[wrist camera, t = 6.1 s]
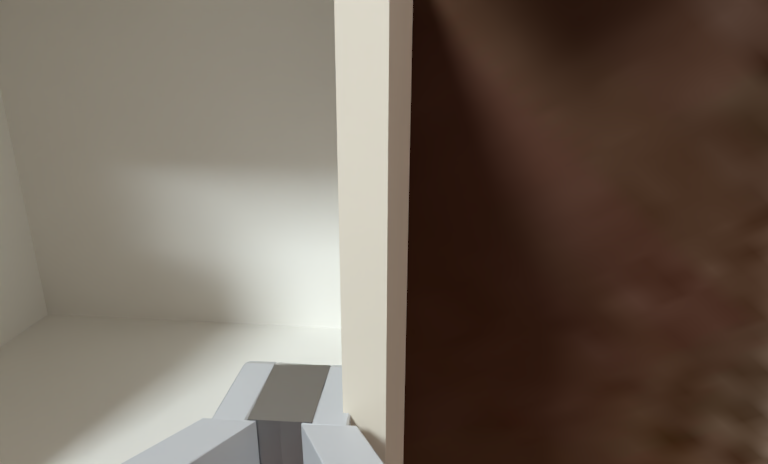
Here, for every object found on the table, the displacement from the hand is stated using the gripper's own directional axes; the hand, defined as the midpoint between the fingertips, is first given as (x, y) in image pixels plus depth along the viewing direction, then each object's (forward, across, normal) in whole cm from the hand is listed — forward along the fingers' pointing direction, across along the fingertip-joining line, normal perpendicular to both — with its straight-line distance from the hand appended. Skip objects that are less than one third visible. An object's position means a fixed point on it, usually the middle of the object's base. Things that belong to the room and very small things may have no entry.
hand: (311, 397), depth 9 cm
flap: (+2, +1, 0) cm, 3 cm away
